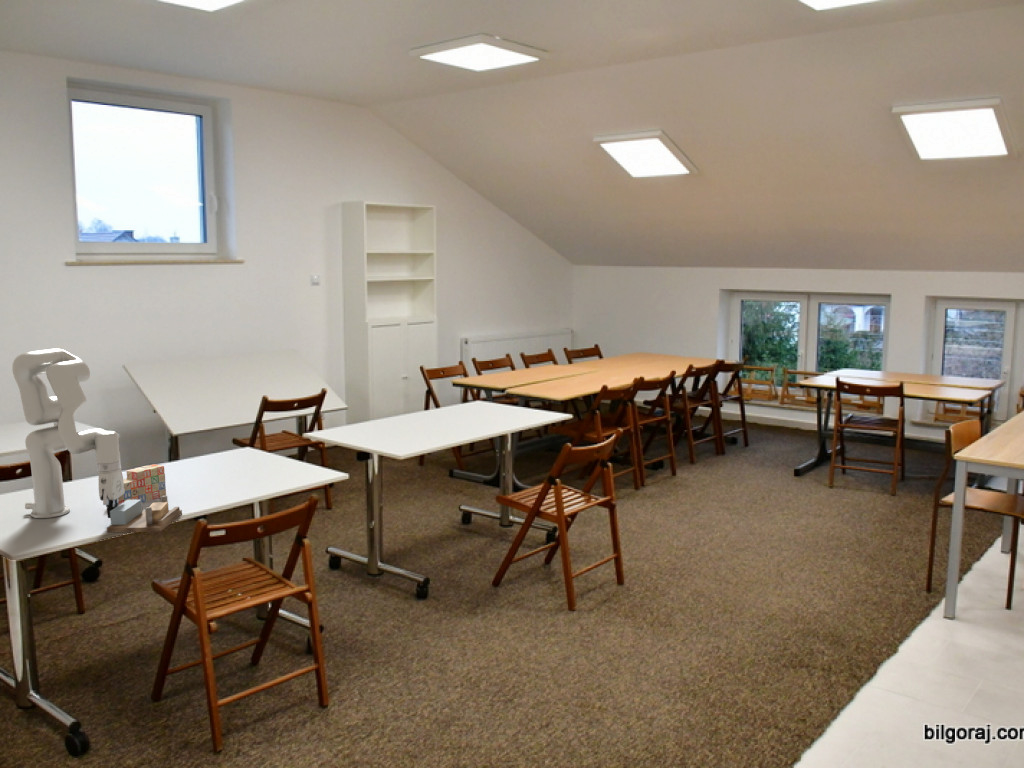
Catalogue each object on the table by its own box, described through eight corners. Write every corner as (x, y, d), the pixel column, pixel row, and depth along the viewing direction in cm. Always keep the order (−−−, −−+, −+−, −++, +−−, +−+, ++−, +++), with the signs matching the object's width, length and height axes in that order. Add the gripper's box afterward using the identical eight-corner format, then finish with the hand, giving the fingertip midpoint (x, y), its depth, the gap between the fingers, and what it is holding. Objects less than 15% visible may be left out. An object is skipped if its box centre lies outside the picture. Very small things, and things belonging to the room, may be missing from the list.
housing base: (107, 532, 292) (105, 511, 291) (132, 514, 312) (130, 494, 311) (160, 531, 293) (158, 510, 292) (182, 513, 312) (180, 493, 311)
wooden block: (146, 523, 297) (145, 510, 296) (154, 514, 307) (153, 502, 306) (161, 522, 298) (160, 510, 297) (168, 514, 307) (168, 501, 307)
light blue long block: (111, 524, 295) (109, 511, 294) (128, 512, 309) (127, 499, 308) (125, 524, 295) (124, 511, 295) (142, 512, 309) (141, 499, 308)
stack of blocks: (117, 510, 319) (114, 477, 317) (107, 507, 322) (104, 475, 320) (166, 495, 337) (164, 465, 335) (156, 493, 340) (154, 463, 338)
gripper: (110, 471, 292) (114, 523, 295) (128, 461, 307) (133, 510, 309) (87, 472, 292) (92, 524, 295) (107, 461, 307) (112, 511, 309)
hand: (113, 517), depth 302 cm, fingers closed
